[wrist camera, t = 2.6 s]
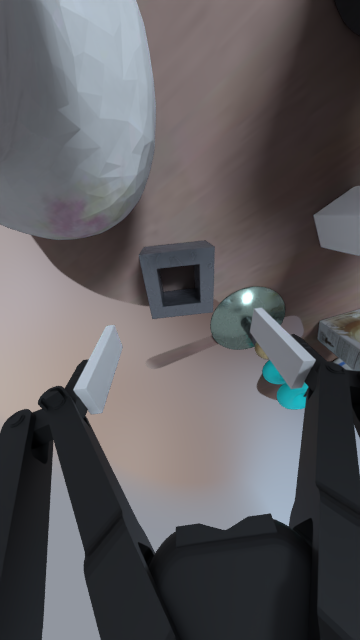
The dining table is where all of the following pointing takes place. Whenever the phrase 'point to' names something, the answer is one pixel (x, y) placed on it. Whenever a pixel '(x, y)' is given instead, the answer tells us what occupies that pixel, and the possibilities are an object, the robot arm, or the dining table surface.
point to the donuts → (285, 388)
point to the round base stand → (244, 317)
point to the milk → (341, 223)
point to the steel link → (183, 299)
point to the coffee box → (342, 337)
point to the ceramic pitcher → (73, 115)
